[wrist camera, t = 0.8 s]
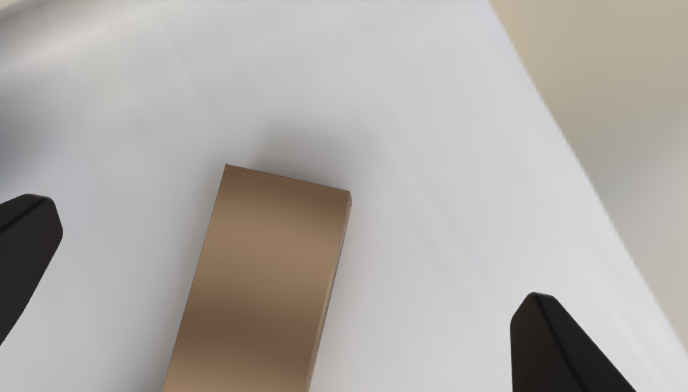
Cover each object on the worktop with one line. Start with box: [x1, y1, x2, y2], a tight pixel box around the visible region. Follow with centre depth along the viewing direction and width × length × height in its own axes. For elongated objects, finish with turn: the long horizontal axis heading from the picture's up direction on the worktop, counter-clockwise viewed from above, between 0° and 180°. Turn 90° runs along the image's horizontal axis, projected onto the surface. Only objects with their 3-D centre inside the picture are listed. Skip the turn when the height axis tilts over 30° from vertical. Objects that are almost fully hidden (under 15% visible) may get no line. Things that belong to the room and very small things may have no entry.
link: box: [162, 164, 352, 392], centre depth 19 cm, size 18×6×3 cm, turn 167°
